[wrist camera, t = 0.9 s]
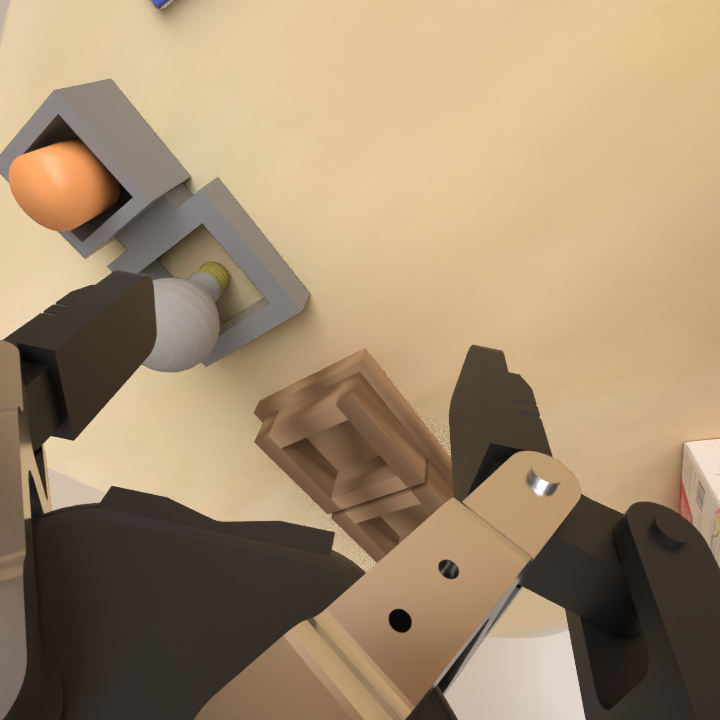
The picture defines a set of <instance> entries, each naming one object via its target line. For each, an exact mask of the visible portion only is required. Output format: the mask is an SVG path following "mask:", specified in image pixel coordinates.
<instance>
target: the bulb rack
mask: <svg viewBox="0 0 720 720" xmlns="http://www.w3.org/2000/svg"><path fill="white" fill-rule="evenodd" d="M254 414H255V415H256V416H257V417H258V418H259V419H260V420H261V421H262V422H263V424H262V426H261V428H260V431H259V433H258V435H257V437H256V439H255V441H254V442H255V443H256V444H257V445H258V446H259V447H260V448H261V449H262V450H263V451H264V452H265V453H266V454H267V455H268V456H269V457H270V458H271V459H272V460H273V461H274V462H275V463H276V464H277V465H278V466H279V467H280V468H281V469H282V470H283V471H284V472H285V473H286V474H287V475H288V476H289V477H290V478H291V479H292V480H293V481H294V482H295V483H296V484H297V485H298V486H300V487H301V488H302V489H303V490H304V491H305V492H306V493H307V494H308V495H309V496H310V497H311V498H312V499H313V500H314V501H315V502H316V503H317V504H318V505H319V506H320V507H321V508H322V509H323V510H324V511H325V512H326V513H327V514H330V513H332V517H331V518H332V519H333V520H334V521H335V522H336V523H337V524H338V525H339V526H340V527H341V528H342V529H343V530H344V531H345V532H346V533H347V534H348V535H349V536H350V537H351V538H352V539H353V540H354V541H355V542H356V543H357V544H358V545H359V546H361V547H362V548H363V549H364V550H365V551H366V552H367V553H368V554H369V555H370V556H371V557H372V558H373V559H374V560H375V561H376V562H377V563H378V562H379V561H380V560H381V559H383V558H384V557H385V556H386V555H387V554H388V553H389V552H390V551H392V550H393V549H394V548H395V547H396V546H397V545H398V544H399V543H401V542H402V541H403V540H404V539H405V538H406V537H407V536H408V535H410V534H411V533H412V532H413V531H414V530H415V529H416V528H417V527H419V526H420V525H421V524H422V523H423V522H424V521H425V520H426V519H428V518H429V517H430V516H431V515H432V514H433V513H434V512H435V511H437V510H438V509H439V508H440V507H441V506H442V505H443V504H444V503H446V502H447V501H448V500H449V499H451V498H453V497H454V492H453V475H452V459H451V458H450V457H449V455H448V454H447V453H446V451H445V450H444V449H443V448H442V446H441V445H440V444H439V442H438V441H437V440H436V439H435V437H434V436H433V435H432V433H431V432H430V431H429V430H428V428H427V427H426V426H425V424H424V423H423V422H422V421H421V419H420V418H419V417H418V416H417V414H416V413H415V412H414V410H413V409H412V408H411V407H410V405H409V404H408V403H407V401H406V400H405V399H404V398H403V396H402V395H401V394H400V392H399V391H398V390H397V389H396V387H395V386H394V385H393V383H392V382H391V381H390V380H389V378H388V377H387V376H386V374H385V373H384V372H383V371H382V369H381V368H380V367H379V366H378V364H377V363H376V362H375V360H374V359H373V358H372V357H371V355H370V354H369V353H368V351H367V350H366V349H363V350H361V351H359V352H357V353H355V354H353V355H351V356H349V357H347V358H345V359H343V360H341V361H339V362H337V363H335V364H333V365H331V366H329V367H327V368H325V369H323V370H321V371H319V372H317V373H315V374H313V375H311V376H309V377H307V378H305V379H303V380H301V381H299V382H297V383H295V384H293V385H291V386H289V387H287V388H285V389H283V390H281V391H279V392H277V393H275V394H273V395H271V396H269V397H267V398H265V399H263V400H261V401H259V403H258V405H257V407H256V409H255V411H254Z"/></svg>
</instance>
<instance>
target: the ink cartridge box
mask: <svg viewBox="0 0 720 720" xmlns="http://www.w3.org/2000/svg"><path fill="white" fill-rule="evenodd" d="M680 498H681V499H680V515H681V516H683V517H684V518H685V519H687V520H688V521H689V522H690V523H691V524H692V525H693V526H695V528H696V529H697V530H698V531H699V532H700V533H701V534H702V536H703V537H704V538H705V540H706V542H707V544H708V546H709V548H710V550H711V552H712V554H713V556H714V558H715V560H716V562H717V564H718V566H719V568H720V439H711V440H701V441H691V442H686V443H684V451H683V465H682V481H681V496H680Z"/></svg>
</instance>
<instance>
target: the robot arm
mask: <svg viewBox="0 0 720 720" xmlns="http://www.w3.org/2000/svg"><path fill="white" fill-rule="evenodd" d="M156 337H157V324H156V310H155V296H154V285H153V281H152V279H151V278H150V277H149V276H146V275H141V274H136V273H131V272H127V271H122V270H116V271H114V272H112V273H111V274H110V275H108V276H107V277H106V278H104V279H103V280H102V281H100V282H99V283H97V284H96V285H90V286H87V287H84V288H81V289H78V290H75V291H72V292H70V293H69V294H67V295H66V296H64V297H63V298H62V299H60V300H59V301H57V302H56V305H52V306H50V307H49V308H47V309H46V310H45V311H44V313H43V314H42V313H40V314H39V315H37V316H36V317H35V318H33V319H32V320H30V321H29V322H28V323H26V324H25V325H23V326H22V327H20V328H19V329H18V330H16V331H15V332H13V333H12V334H10V335H9V336H8V337H6V338H5V339H3V340H0V720H458V719H457V717H456V715H455V714H454V712H453V710H452V709H451V707H450V705H449V704H448V702H447V700H446V698H445V697H444V695H445V694H446V692H447V691H448V690H449V688H450V687H451V686H452V684H453V683H454V681H455V680H456V679H457V677H458V676H459V674H460V673H461V672H462V670H463V669H464V667H465V666H466V664H467V663H468V661H469V660H470V658H471V657H472V655H473V654H474V653H475V651H476V650H477V648H478V647H479V646H480V644H481V643H482V642H483V640H484V639H485V638H486V636H487V635H488V634H489V632H490V631H491V630H492V628H493V627H494V626H495V624H496V623H497V621H498V620H499V619H500V617H501V616H502V615H503V613H504V612H505V611H506V609H507V608H508V607H509V605H510V604H511V603H512V601H513V600H514V599H515V597H516V596H517V595H518V593H519V592H520V591H521V589H522V588H523V587H525V588H527V589H529V590H531V591H533V592H535V593H536V594H538V595H540V596H542V597H544V598H546V599H548V600H550V601H552V602H554V603H556V604H557V605H559V606H561V607H563V608H565V611H566V617H567V622H568V627H569V632H570V638H571V643H572V649H573V653H574V659H575V665H576V670H577V676H578V681H579V686H580V692H581V697H582V702H583V708H584V713H585V718H586V720H720V568H719V566H718V564H717V562H716V560H715V558H714V556H713V554H712V552H711V550H710V548H709V546H708V544H707V542H706V540H705V538H704V537H703V536H702V534H701V533H700V532H699V531H698V530H697V529H696V528H695V526H693V525H692V524H691V523H690V522H689V521H688V520H687V519H685V518H684V517H683V516H681V515H680V514H678V513H676V512H675V511H673V510H671V509H669V508H667V507H665V506H662V505H659V504H656V503H652V502H637V503H634V504H633V505H631V506H630V507H629V509H628V510H627V511H626V513H625V514H622V513H620V512H618V511H615V510H613V509H611V508H609V507H607V506H604V505H602V504H600V503H598V502H595V501H593V500H591V499H589V498H587V497H586V496H584V495H582V494H581V488H580V484H579V482H578V480H577V478H576V477H575V476H574V474H573V473H572V472H571V471H570V470H569V469H568V468H567V467H566V466H565V465H564V464H562V463H561V462H559V461H558V460H556V459H554V458H553V456H552V453H551V450H550V447H549V443H548V440H547V437H546V434H545V430H544V427H543V424H542V420H541V419H540V414H539V411H538V407H537V406H536V401H535V398H534V394H533V391H532V389H531V387H530V386H529V385H528V384H527V383H526V382H525V380H524V379H523V378H522V377H521V376H520V375H519V374H514V373H509V372H508V368H507V364H506V360H505V356H504V353H503V351H501V350H496V349H491V348H487V347H482V346H477V345H472V346H471V347H470V349H469V351H468V353H467V356H466V359H465V362H464V364H463V367H462V370H461V373H460V376H459V378H458V381H457V384H456V387H455V390H454V392H453V396H452V399H451V404H450V410H449V426H450V443H451V459H452V475H453V492H454V497H453V498H451V499H449V500H448V501H447V502H446V503H444V504H443V505H442V506H441V507H440V508H439V509H438V510H437V511H435V512H434V513H433V514H432V515H431V516H430V517H429V518H428V519H426V520H425V521H424V522H423V523H422V524H421V525H420V526H419V527H417V528H416V529H415V530H414V531H413V532H412V533H411V534H410V535H408V536H407V537H406V538H405V539H404V540H403V541H402V542H401V543H399V544H398V545H397V546H396V547H395V548H394V549H393V550H392V551H390V552H389V553H388V554H387V555H386V556H385V557H384V558H383V559H381V560H380V561H379V562H378V563H377V564H376V565H375V566H374V567H372V568H371V569H370V570H369V571H368V572H367V573H366V572H365V571H364V570H362V569H361V568H360V567H359V566H358V565H356V564H355V563H354V562H353V561H351V560H349V559H348V558H346V557H345V556H343V555H341V554H339V553H337V552H335V551H333V550H332V545H333V540H334V534H335V532H331V531H326V530H321V529H316V528H311V527H307V526H302V525H297V524H292V523H288V522H283V521H242V522H220V521H216V520H213V519H211V518H209V517H207V516H205V515H203V514H200V513H198V512H196V511H194V510H192V509H190V508H188V507H186V506H184V505H182V504H180V503H178V502H175V501H173V500H171V499H169V498H167V497H163V496H158V495H153V494H148V493H144V492H139V491H134V490H129V489H124V488H120V487H115V486H111V488H110V489H109V491H108V492H107V494H106V495H105V496H104V498H103V499H102V501H101V502H100V503H92V504H83V505H75V506H70V507H65V508H61V509H58V510H54V511H52V505H51V496H50V487H49V478H48V469H47V460H46V452H45V449H44V445H43V443H44V442H45V441H46V440H47V439H48V438H49V437H50V436H54V437H59V438H63V439H68V440H73V441H74V440H75V439H76V438H77V437H78V436H79V434H80V433H81V432H82V431H83V430H84V429H85V428H86V426H87V425H88V424H89V423H90V422H91V421H92V420H93V419H94V417H95V416H96V415H97V414H98V413H99V412H100V411H101V409H102V408H103V407H104V406H105V405H106V404H107V403H108V402H109V400H110V399H111V398H112V397H113V396H114V395H115V394H116V393H117V391H118V390H119V389H120V388H121V387H122V386H123V385H124V383H125V382H126V381H127V380H128V379H129V378H130V377H131V376H132V374H133V373H134V372H135V371H136V370H137V369H138V368H139V366H140V365H141V364H142V363H143V362H144V361H145V360H146V359H147V357H148V356H149V355H150V354H151V352H152V350H153V348H154V346H155V342H156Z"/></svg>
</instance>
